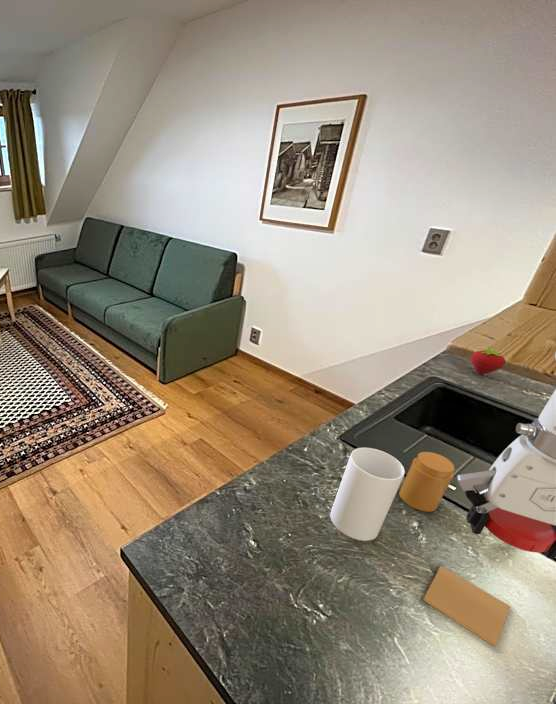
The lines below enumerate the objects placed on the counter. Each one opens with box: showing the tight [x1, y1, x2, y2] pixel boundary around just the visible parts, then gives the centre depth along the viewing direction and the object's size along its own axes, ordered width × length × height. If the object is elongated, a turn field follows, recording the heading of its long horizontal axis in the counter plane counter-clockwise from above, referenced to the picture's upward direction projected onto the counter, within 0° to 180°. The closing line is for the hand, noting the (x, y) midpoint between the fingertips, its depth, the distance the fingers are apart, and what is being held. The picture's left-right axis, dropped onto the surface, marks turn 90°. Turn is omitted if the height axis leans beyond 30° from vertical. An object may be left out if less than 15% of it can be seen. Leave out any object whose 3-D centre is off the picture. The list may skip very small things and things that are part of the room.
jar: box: [398, 451, 456, 513], centre depth 81 cm, size 6×6×11 cm
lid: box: [484, 508, 556, 554], centre depth 57 cm, size 7×7×2 cm
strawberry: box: [470, 346, 506, 376], centre depth 120 cm, size 6×8×10 cm
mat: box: [422, 565, 511, 648], centre depth 65 cm, size 9×9×1 cm
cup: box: [329, 447, 406, 542], centre depth 76 cm, size 8×8×16 cm
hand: (509, 537), depth 58 cm, fingers closed on lid, 7 cm apart
